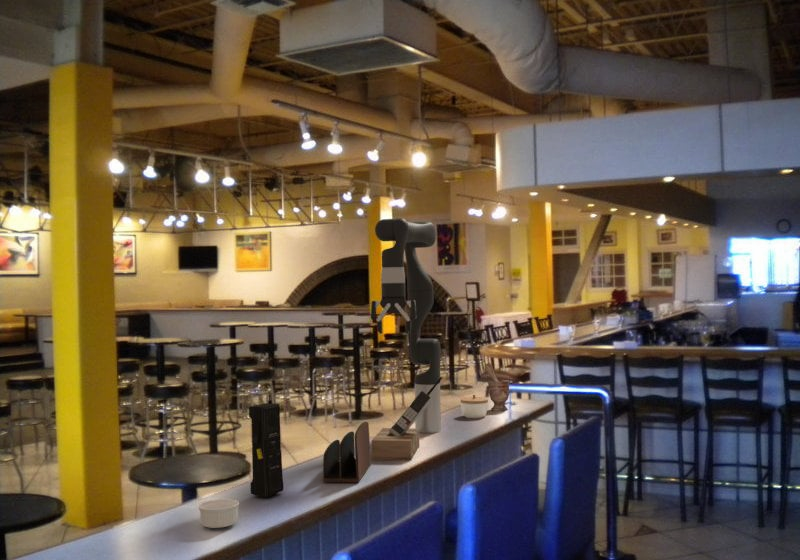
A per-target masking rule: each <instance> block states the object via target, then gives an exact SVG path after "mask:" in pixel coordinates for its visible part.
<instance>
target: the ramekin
mask: <svg viewBox="0 0 800 560" xmlns="http://www.w3.org/2000/svg"><path fill="white" fill-rule="evenodd" d="M239 505H240V502H239V500H236V499H231V498H230V499H229V498H218V499H212V500H207V501H203V502H201V503H200V504H199V505H198V510H199V515H200V523H201V525H202V526H203V527H206V528H212V529H219V528H225V527H229V526H232V525H234V524H236V523H237V521H238V517H239V516H238V515H239Z"/></svg>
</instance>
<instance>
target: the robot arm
mask: <svg viewBox="0 0 800 560" xmlns="http://www.w3.org/2000/svg"><path fill="white" fill-rule="evenodd" d="M436 231H437V230H436V227H435V225H434V224H433V223H432V222H430V221H407V220H406V219H405V218H386V219H385V218H384V219H380V220H378V221H377V223H376V224H375V227H374V232H375V236H376V238H377V239H378V240H380V242H395V244H394V245H393V246H391V247H389V248H385V249H383V250H382V251H381V273H380V283H381V284H380V285H381V286H380V287H381V288H380V290H381V293H380V294H381V299H380V300H379V301H378V300H372V301H371V310H370V319H371V320H372V321H376V330H377V333H379V335H380V334H381V335H382V334H383V332H384V331H383V321H382V320H383V319H384V317H385V316H386V315H393V314H395V315H400V314H401V316H402V317H404V319H405V320H406V321H405V333H406V334H409V348H408V349H409V358H410V362H411V363H412V364H413V365H429V368H428V369H427V370H426V371H423V372H421V373H419V374H416V375H415V376H414V399H415V398H416V397H417V396H418V394H419V393H420V392H421V391H423V392H425V393H426V394H427V393H428V392H429V390H430V389H431V388H432V387H433V386H434V385H435V384H436V382H437V381H438V380H439V379H440V378H441V353H442V350H441V349H442V348H441V343H440V340H439V339H438V338H421V329H422V327H423V324H424V322H425V320H426V318H427V316H428V314H429V313H430V312H431V310H432V307H433V305H434V302H435V301H434V283H433V282H432V280H431V277H430V276H429V275H428V273H427V271H426V270H425V269H424V267H423V266H422V264H421V263H420V260H419V258H418V255H417V250H416V249H418V248H419V249H421V248H430V247H432V246H434V244H435V243H436V239H437V238H436V237H437V232H436ZM405 263H406V273H405ZM406 280H407V282H406ZM406 283H407V287H406ZM406 288H407V299H406ZM407 305H408V312H407V311H406V310H405V308H406V306H407ZM379 306H381V308H382V310H381V312H380V314H379V315H378V316H377V309H378V308H379ZM429 396H430V397H431V399H430V403H429V404H428V406H427V407H426V408H425V409H424V411H423V412H422V413H421V414H420V415H419V417H418V418H417V419H416V420H415V422H414V423H415V428H416V429H419V434H420V433H421V434H434V433H440V432H441V431H442V412H441V410H442V409H441V408H442V404H441V381H440V382H439V383H438V384H437V385H436V387H435V388H434V390H433V391H432V392H431V393H430V395H429Z"/></svg>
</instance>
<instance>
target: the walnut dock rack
mask: <svg viewBox="0 0 800 560" xmlns="http://www.w3.org/2000/svg"><path fill="white" fill-rule="evenodd" d="M390 428H391V427H390ZM390 428H388V427H387V428H386V427H385V428H383V427H382V429H380V431H379V432H378V433H377V434H376V435H375V436H374V437H373V438H372V439H371V460H372V461H409V460H411V461H412V460H413V458H414V456H415V455H416V453H417V451H418V450H417V449H419V448H420V433H419V429H416V428H411V427H410V428H409V429H408V430H407V432H406V433H405V434H404V435H403V436H390V434H389V430H390Z"/></svg>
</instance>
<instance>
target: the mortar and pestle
mask: <svg viewBox="0 0 800 560" xmlns="http://www.w3.org/2000/svg"><path fill="white" fill-rule="evenodd" d="M484 367H485V370H486V371H487V373H488V374H489V376H490V378H491V380H490V379H489V380H488V381H487V382H488V385H487V386H488V394H489V398H490V400H491V401H492V403H493V406H492V407H491V408H490V411H491V412H492V411H493V412H507V411H509V409H508V407H507V406H506V403H507V401H508V399H509V396H510V380H508V379H506V380H505V379H498V378H497V376H496V374H495V371H494V367H493V365H492V364H491V363H490V362H488V363H485V365H484Z"/></svg>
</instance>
